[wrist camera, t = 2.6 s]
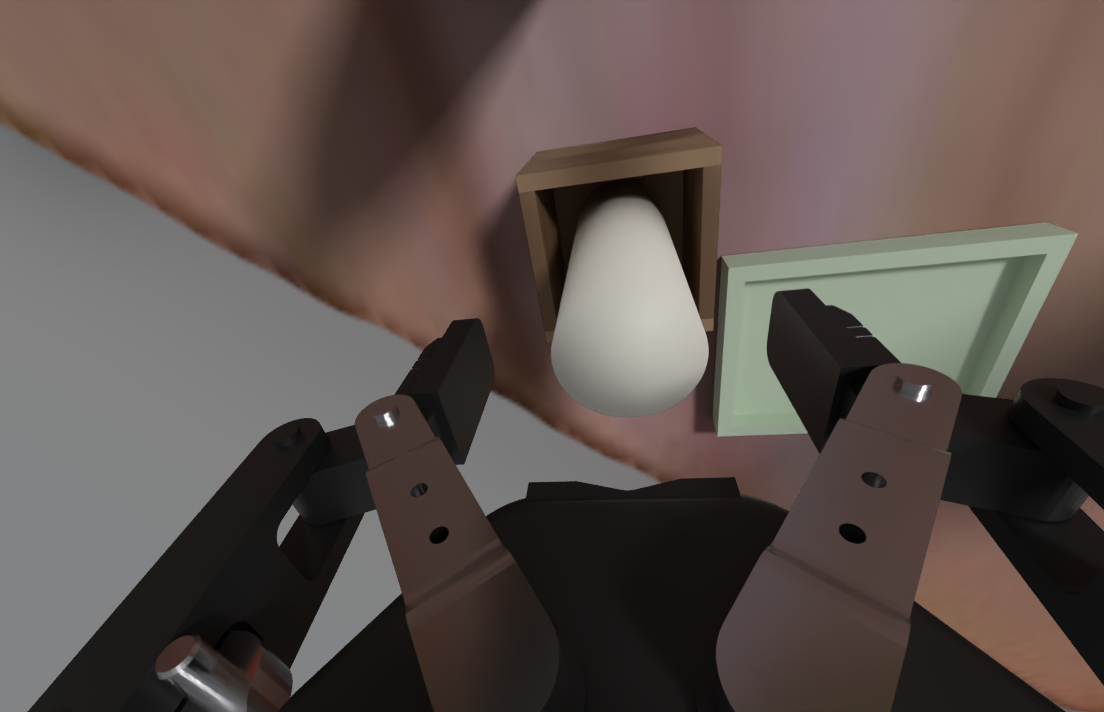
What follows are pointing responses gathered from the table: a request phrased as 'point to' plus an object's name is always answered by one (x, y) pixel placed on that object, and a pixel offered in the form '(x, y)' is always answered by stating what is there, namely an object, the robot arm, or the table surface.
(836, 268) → the tray
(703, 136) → the pen cup
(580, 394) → the dowel
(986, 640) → the table surface
